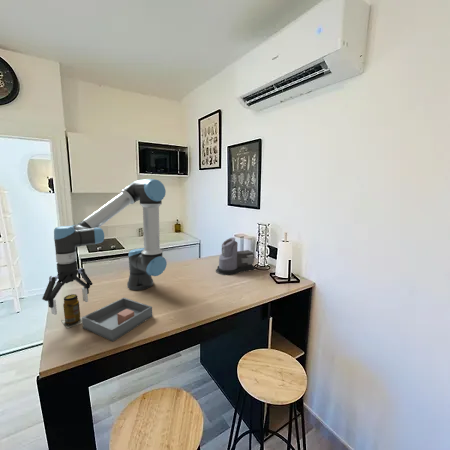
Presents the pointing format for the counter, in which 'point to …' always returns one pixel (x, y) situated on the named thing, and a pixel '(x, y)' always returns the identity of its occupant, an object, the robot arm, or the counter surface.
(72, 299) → the condiment
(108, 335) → the tote
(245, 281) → the counter surface
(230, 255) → the juicer
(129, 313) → the cube
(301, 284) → the counter surface
